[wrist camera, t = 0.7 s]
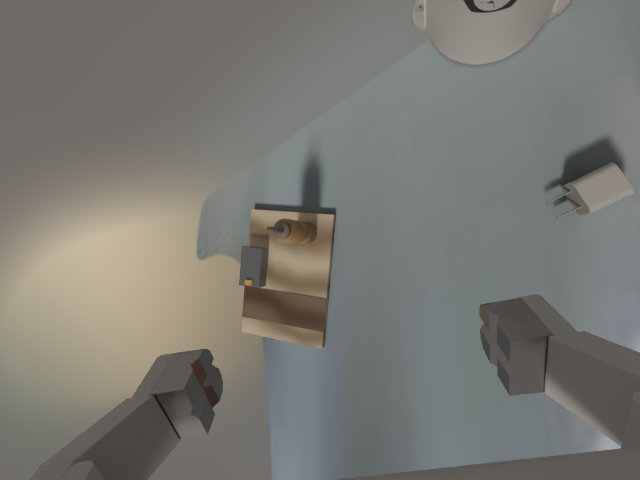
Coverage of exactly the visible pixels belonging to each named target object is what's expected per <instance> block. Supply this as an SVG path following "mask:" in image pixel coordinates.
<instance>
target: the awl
mask: <svg viewBox="0 0 640 480" xmlns="http://www.w3.org/2000/svg"><path fill="white" fill-rule="evenodd" d="M267 232H269V233H273V235H274V237H275V239H276V240H277V241H278V242H280V243H311V242H313V241H314V240H315V238H316V236H317V229H316V227H315V226H314V225H313V224H312V223H309V222H303V221H297V220H291V219H280V220H278V221H277V222H276V223H275V225H274V227H267Z"/></svg>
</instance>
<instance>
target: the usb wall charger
mask: <svg viewBox="0 0 640 480" xmlns="http://www.w3.org/2000/svg"><path fill="white" fill-rule="evenodd" d="M561 189H562V191H563V193H564V194H563V195H561V196H559V197H557V198H555V199H553V200H551V201H549V202H547V203H550V202H552V201H554V200H556V199H558V198H560V197H562V196H564V195H565V196H566V197H567V199H568V200H569V202H570V203H571V205H572V207H573V208H574V209H573V210H571V211H569V212H567V213H564V214H562V215H560V216H558V217H556V219H557V218H560V217H562V216H564V215H566V214H569V213H571V212H573V211H576V213H577V214H578V215H585V214H590V213H592V212H594V211H596V210H599V209H601V208H603V207H605V206H607V205H610V204H612V203H614V202H616V201H618V200H620V199H623V198H625V197H627V196H629V195H631V194H633V193H634V190H633V188H632V186H631V185H630V183H629V182H628V180H627V179H626V177H625V176H624V174H623V173H622V172H621V170H620V169H619V167H618V166H617V165H616V164H615V163H613V162H611V163H609V164H607V165H605V166H602V167H600V168H598V169H596V170H594V171H592V172H590V173H588V174H586V175H584V176H582V177H580V178H578V179H576V180H574V181H572V182H570V183H568V184H566V185H564V186H562V187H561Z"/></svg>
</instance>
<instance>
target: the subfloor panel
mask: <svg viewBox="0 0 640 480" xmlns="http://www.w3.org/2000/svg"><path fill="white" fill-rule="evenodd" d="M280 219H291V220H297V221H303V222H309V223H312V224H313V225H314V226H315V227H316V229H317V236H316V238H315V240H314V241H313V242H311V243H280V242H278V241H277V240H276V239H275V237H274V235H273V233H269V232H267V227H274V225H275V223H276V222H277V221H278V220H280ZM335 219H336V215H331V214H315V213H300V212H285V211H270V210H255V209H252V210H251V222H250V234H249V246H251V247H260V248H269V254H268V266H267V278H266V286H264V287H260V288H257V287H250V286H245V291H244V304H243V315H242V317H243V319H242V332H245V333H250V334H254V335H259V336H264V337H269V338H273V339H278V340H283V341H288V342H293V343H297V344H302V345H307V346H312V347H316V348H321V349H322V348H323V347H324V345H325V333H326V322H327V311H328V299H329V288H330V276H331V265H332V253H333V242H334V231H335Z"/></svg>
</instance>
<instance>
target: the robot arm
mask: <svg viewBox="0 0 640 480" xmlns="http://www.w3.org/2000/svg"><path fill="white" fill-rule="evenodd" d="M571 1H572V0H415V4H414V7H413V10H412V14H411V22H412V24H413V26H414V27H416V28H417V29H419V30H421V31H422V32H424V33H426V34H427V35H428V36H429V37H430V38H431V40H432V41H433V43H434V45H435V46H436V47H437V49H438V50H439V51H440V52H441V53H442V54H444V55H445V56H447V57H448V58H450V59H452V60H454V61H457V62H460V63H464V64H475V65H477V64H487V63H492V62H496V61H499V60H501V59H504V58H506V57H508V56H510V55H512V54H514V53H515V52H517V51H518V50H520V49H521V48H523V47H524V46H525V45H526V44H527V43H528V42H529V41H530V40H531V39H532V38H533V37H534V36H535V35H536V34H537V33H538V31H539V30H540V29H541V27H542V26H543V25H544V24H545V23H546V22H547V21H548V20H549V19H551V18H553V17H554V16H556V15H557V14H559V13H560V12H562V11H563V10H564V9H566V8H567V7H568V6H569V5H570V3H571ZM423 6H424V9H420V8H421V7H423ZM480 318H481V319H482V321H483V322H484V324H483V326H482V327H481V328H480V334H481V341H482V345H483V349H484V351H485V353H486V356H487V357H488V359H489V361H490V363H492V364H494V365H496V366H497V373H498V377H499V378H500V380H501V382H502V384H503V385H504V387H505V389H506V390H507V392H508V394H509V395H519V394H529V393H539V392H545V394H546V395H547V396H549V397H550V398H552V399H553V400H555V401H556V402H558V403H559V404H561V405H562V406H563V407H565V408H566V409H568V410H569V411H571V412H572V413H574V414H575V415H577V416H578V417H579V418H581V419H582V420H584V421H585V422H587V423H588V424H590V425H591V426H593V427H594V428H595V429H597V430H598V431H600V432H601V433H603V434H604V435H606V436H607V437H609V438H610V439H611V440H613V441H614V442H616V443H617V444H619V445H620V446H621V449H613V450H604V451H595V452H585V453H576V454H567V455H558V456H548V457H539V458H530V459H521V460H511V461H502V462H493V463H484V464H475V465H465V466H456V467H447V468H438V469H429V470H420V471H410V472H401V473H392V474H383V475H374V476H365V477H355V478H346V479H337V480H640V353H639V352H636V351H634V350H631V349H629V348H626V347H623V346H621V345H618V344H616V343H613V342H611V341H608V340H605V339H603V338H600V337H598V336H595V335H592V334H590V333H587V332H585V331H583V332H577V331H576V330H575V329H574V328H573V327H572V326H571V325H570V324H569V323H568V322H567V321H566V320H565V319H564V318H563V317H562V316H561V315H560V314H559V313H558V312H557V311H556V310H555V309H554V308H553V307H552V306H551V305H550V304H549V303H548V302H547V301H546V300H545V299H544V298H543V297H542V296H540V295H538V294H535V295H530V296H524V297H519V298H516V299H510V300H504V301H498V302H492V303H486V304H481V305H480ZM213 359H214V358H213V356H212V354H211V352H210V350H207V349H200V350H194V351H186V352H179V353H173V354H166V355H162V356H160V357H158V358H157V359H156V360H155V362H154V364H153V365H152V367H151V368H150V370H149V371H148V373H147V375H146V376H145V378H144V379H143V381H142V383H141V384H140V385H139V387H138V389H137V390H136V392H135V393H134V395H133V397H132V398H129V399H126V400H125V401H123V402H122V403H121V404H119V405H118V406H117V407H115V408H114V409H113V410H112V411H110V412H109V413H108V414H106V415H105V416H104V417H103V418H101V419H100V420H99V421H98V422H96V423H95V424H94V425H92V426H91V427H90V428H88V429H87V430H86V431H85V432H83V433H82V434H81V435H79V436H78V437H77V438H76V439H74V440H73V441H72V442H70V443H69V444H68V445H67V446H65V447H64V448H63V449H61V450H60V451H59V452H58V453H56V454H55V455H54V456H53V457H51V458H50V459H49V460H47V461H46V462H45V463H43V464H42V465H41V466H40V467H39V469H38V470H37V471H36V473H35V474H34V475H33V476H32V478H31V479H30V480H148V479H149V477H150V476H151V475H152V474H153V472H154V471H155V470H156V469H157V468H158V467H159V466H160V464H161V463H162V462H163V461H164V460H165V458H166V457H167V456H168V455H169V454H170V452H171V451H172V450H173V449H174V448H175V446H176V445H177V444H178V443H179V442H180V439H184V438H191V437H197V436H203V435H207V434H208V432H209V430H210V427H211V424H212V421H213V418H214V416H215V413H214V411H213V407H214V406H215V405H216V404H217V403H218V402H219V401H220V398H221V395H222V389H223V380H222V375H221V373H220V371H219V369H218V368H216V367H215V366H213V365H212V362H213Z"/></svg>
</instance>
